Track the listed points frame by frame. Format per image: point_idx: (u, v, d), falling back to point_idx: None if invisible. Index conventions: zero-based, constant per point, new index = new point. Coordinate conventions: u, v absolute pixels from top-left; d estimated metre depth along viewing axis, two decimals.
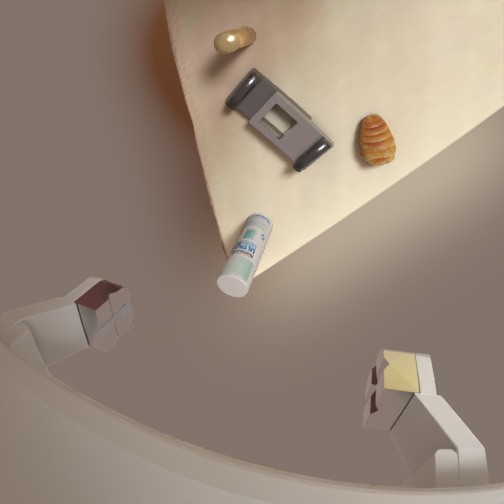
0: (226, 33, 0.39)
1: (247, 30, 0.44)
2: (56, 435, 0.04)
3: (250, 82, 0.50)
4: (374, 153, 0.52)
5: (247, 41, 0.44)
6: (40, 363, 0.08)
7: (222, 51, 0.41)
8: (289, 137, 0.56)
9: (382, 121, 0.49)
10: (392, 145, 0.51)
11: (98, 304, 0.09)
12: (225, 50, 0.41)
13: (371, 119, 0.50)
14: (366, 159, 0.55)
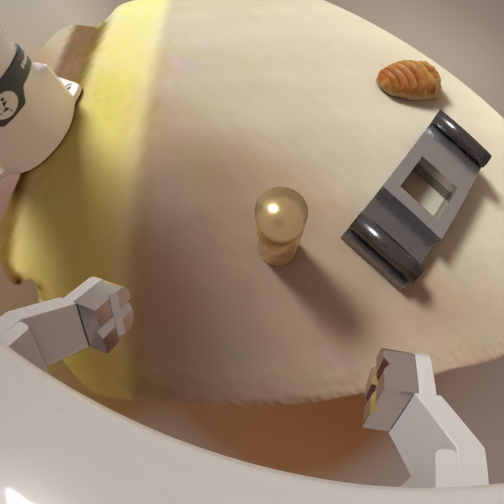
0: (257, 206, 0.22)
1: None
2: (56, 435, 0.04)
3: (369, 224, 0.28)
4: (424, 71, 0.33)
5: None
6: (40, 363, 0.08)
7: (301, 218, 0.22)
8: (448, 172, 0.29)
9: (381, 70, 0.35)
10: None
11: (98, 304, 0.09)
12: (298, 210, 0.22)
13: (385, 80, 0.34)
14: (437, 85, 0.33)
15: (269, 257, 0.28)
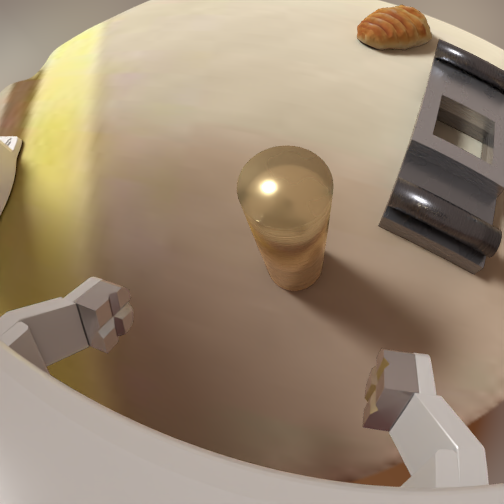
0: (241, 187, 0.12)
1: None
2: (56, 435, 0.04)
3: (415, 191, 0.18)
4: (406, 13, 0.25)
5: None
6: (40, 363, 0.08)
7: (322, 186, 0.12)
8: (477, 106, 0.20)
9: (359, 25, 0.27)
10: None
11: (98, 304, 0.09)
12: (314, 174, 0.12)
13: (368, 32, 0.26)
14: (425, 25, 0.25)
15: (286, 278, 0.18)
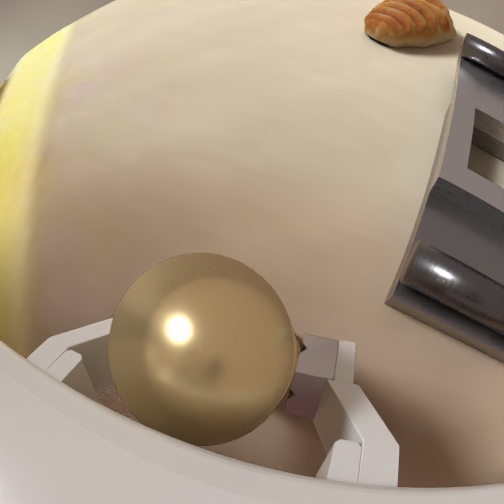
0: (116, 343, 0.06)
1: None
2: (56, 435, 0.04)
3: (443, 265, 0.11)
4: (425, 2, 0.18)
5: None
6: (93, 394, 0.07)
7: (269, 362, 0.05)
8: None
9: (366, 16, 0.20)
10: None
11: None
12: (254, 331, 0.05)
13: (379, 25, 0.19)
14: (448, 18, 0.18)
15: None
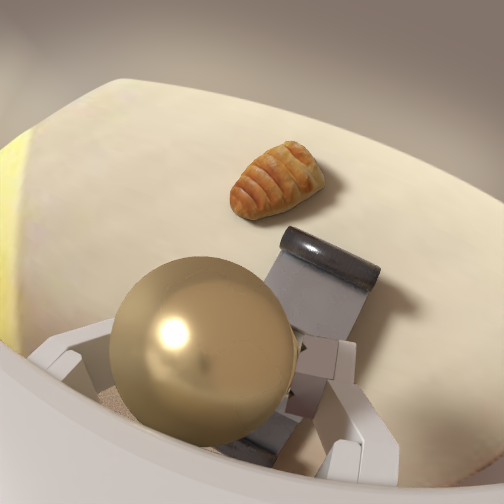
0: (117, 345, 0.06)
1: None
2: (56, 435, 0.04)
3: None
4: (289, 164, 0.29)
5: None
6: (93, 394, 0.07)
7: (269, 364, 0.05)
8: (310, 321, 0.25)
9: (232, 188, 0.31)
10: (264, 154, 0.32)
11: None
12: (254, 334, 0.05)
13: (237, 205, 0.30)
14: (314, 174, 0.29)
15: None
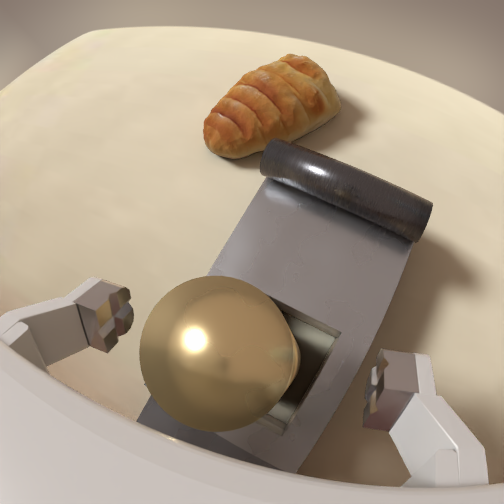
0: (146, 349, 0.07)
1: None
2: (56, 435, 0.04)
3: None
4: (287, 76, 0.18)
5: None
6: (40, 363, 0.08)
7: (273, 364, 0.07)
8: (314, 296, 0.14)
9: (206, 118, 0.20)
10: None
11: (98, 304, 0.09)
12: (262, 339, 0.07)
13: (213, 136, 0.19)
14: (325, 91, 0.19)
15: None
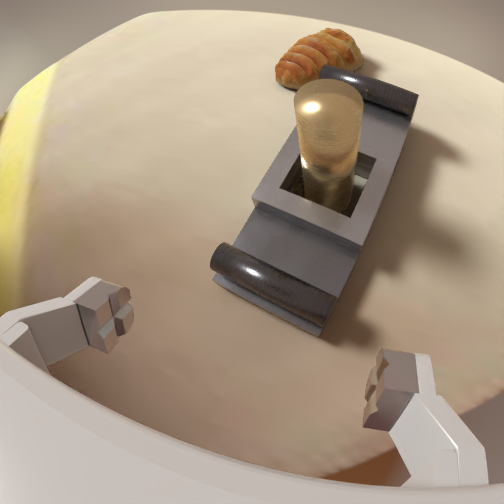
0: (296, 103, 0.15)
1: None
2: (56, 435, 0.04)
3: (232, 259, 0.20)
4: (330, 39, 0.26)
5: None
6: (40, 363, 0.08)
7: (355, 102, 0.15)
8: None
9: None
10: None
11: (98, 304, 0.09)
12: (349, 95, 0.15)
13: (284, 73, 0.27)
14: (353, 49, 0.26)
15: (325, 195, 0.21)
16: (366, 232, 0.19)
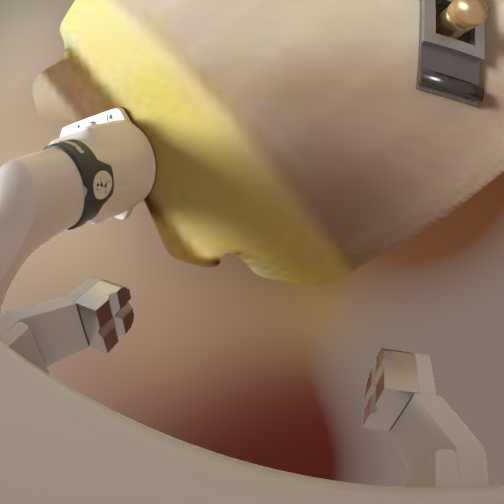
0: (461, 8, 0.18)
1: (440, 16, 0.24)
2: (56, 435, 0.04)
3: (433, 77, 0.28)
4: None
5: None
6: (40, 363, 0.08)
7: (485, 6, 0.17)
8: None
9: None
10: None
11: (98, 304, 0.09)
12: (481, 2, 0.17)
13: None
14: None
15: (458, 34, 0.24)
16: (484, 52, 0.24)
